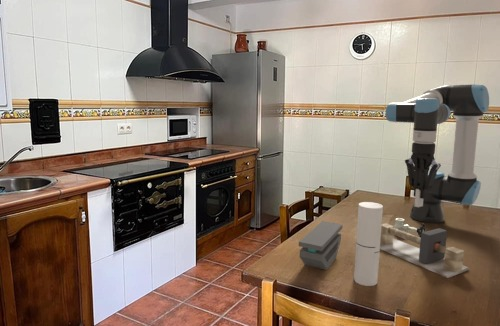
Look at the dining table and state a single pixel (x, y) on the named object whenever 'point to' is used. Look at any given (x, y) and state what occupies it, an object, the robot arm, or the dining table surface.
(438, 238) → the collar
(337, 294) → the dining table surface
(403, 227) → the valve
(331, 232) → the grey grooved block
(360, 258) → the cylindrical container
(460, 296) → the dining table surface
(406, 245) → the rail
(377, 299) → the dining table surface
